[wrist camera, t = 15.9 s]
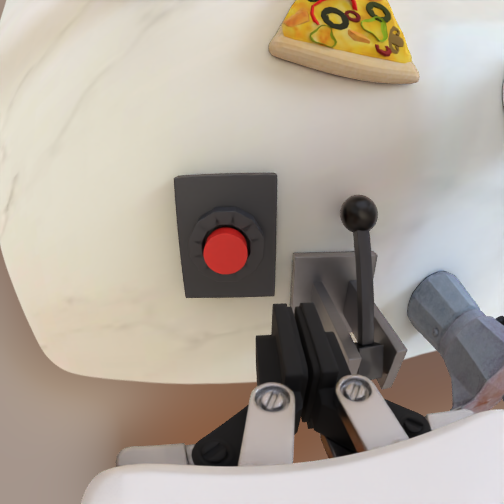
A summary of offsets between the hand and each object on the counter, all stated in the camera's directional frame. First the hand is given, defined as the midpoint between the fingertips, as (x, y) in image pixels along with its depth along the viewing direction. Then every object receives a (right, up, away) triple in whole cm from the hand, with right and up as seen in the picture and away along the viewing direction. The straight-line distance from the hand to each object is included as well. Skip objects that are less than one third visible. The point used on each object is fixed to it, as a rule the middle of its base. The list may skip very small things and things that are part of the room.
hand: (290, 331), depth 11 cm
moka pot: (+23, -3, +20) cm, 31 cm away
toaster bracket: (+7, -1, +19) cm, 20 cm away
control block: (-4, +5, +16) cm, 17 cm away
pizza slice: (+8, +29, +7) cm, 31 cm away
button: (-4, +4, +13) cm, 14 cm away
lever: (+7, 0, +11) cm, 13 cm away
